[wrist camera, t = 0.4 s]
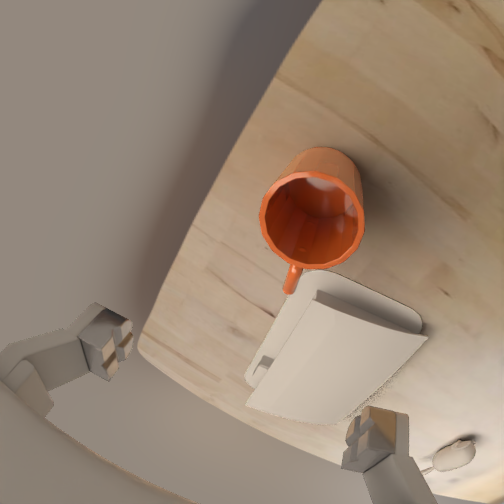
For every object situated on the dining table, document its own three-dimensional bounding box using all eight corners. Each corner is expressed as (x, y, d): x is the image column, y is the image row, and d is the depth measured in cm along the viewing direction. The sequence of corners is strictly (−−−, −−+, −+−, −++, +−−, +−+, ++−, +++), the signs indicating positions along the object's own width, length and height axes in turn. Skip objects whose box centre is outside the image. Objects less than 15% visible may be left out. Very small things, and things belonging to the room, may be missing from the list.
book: (239, 382, 43) (230, 403, 40) (307, 259, 31) (300, 282, 27) (333, 419, 42) (329, 440, 39) (433, 318, 29) (438, 344, 26)
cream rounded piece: (462, 447, 34) (410, 464, 42) (473, 468, 31) (421, 483, 39) (475, 426, 37) (427, 445, 45) (486, 446, 35) (437, 464, 43)
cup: (295, 136, 25) (272, 157, 18) (371, 161, 24) (379, 192, 17) (268, 240, 31) (240, 292, 24) (334, 262, 30) (325, 320, 23)
